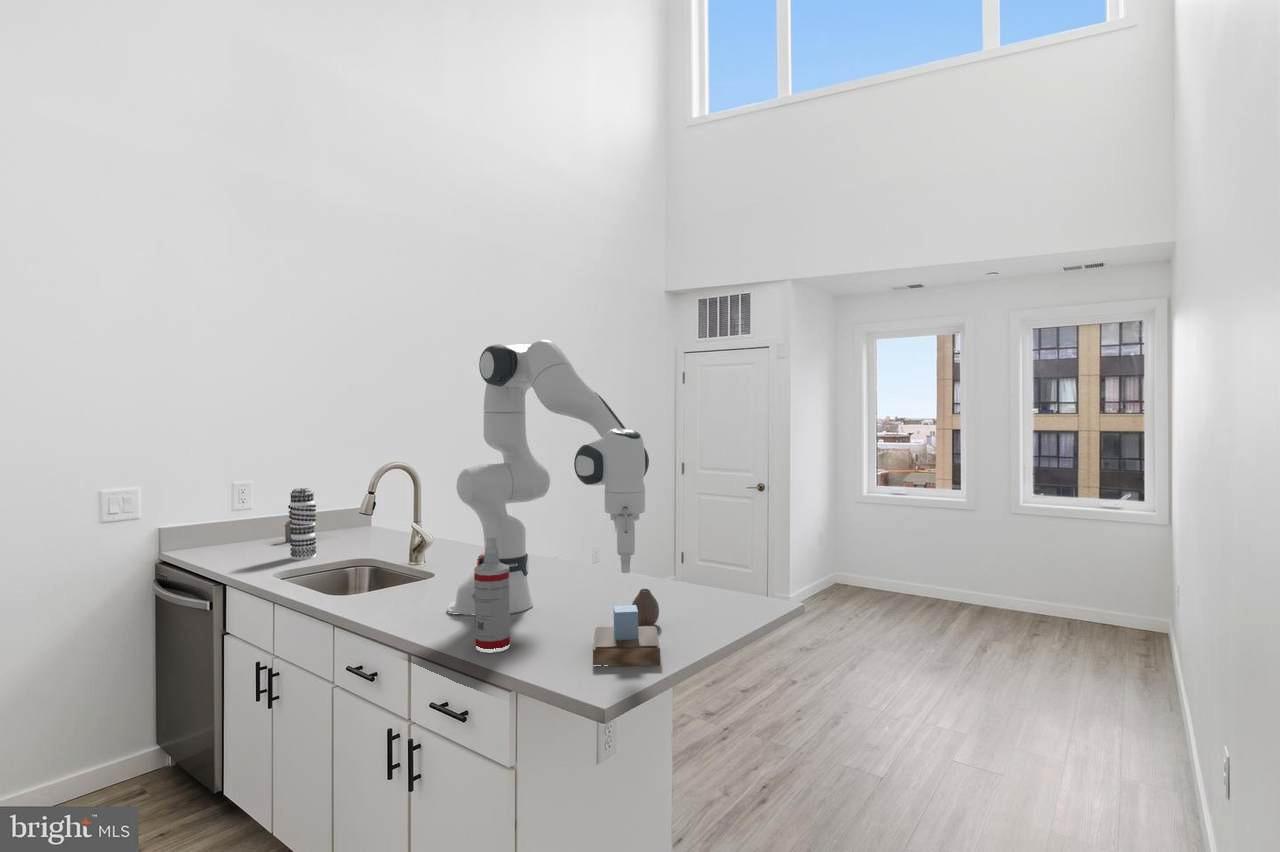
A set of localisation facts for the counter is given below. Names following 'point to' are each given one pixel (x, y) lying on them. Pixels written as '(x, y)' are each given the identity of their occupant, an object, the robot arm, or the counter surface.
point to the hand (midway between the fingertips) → (625, 566)
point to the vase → (646, 608)
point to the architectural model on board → (289, 532)
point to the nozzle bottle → (492, 600)
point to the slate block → (625, 622)
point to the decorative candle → (302, 524)
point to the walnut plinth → (626, 648)
